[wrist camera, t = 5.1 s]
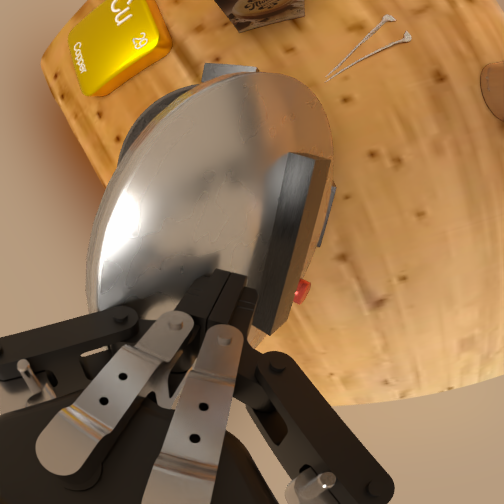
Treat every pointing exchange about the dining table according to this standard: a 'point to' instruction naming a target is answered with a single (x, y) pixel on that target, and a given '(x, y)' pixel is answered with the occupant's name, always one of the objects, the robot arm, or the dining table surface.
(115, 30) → the element tile
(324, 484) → the robot arm
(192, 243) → the cooker lid
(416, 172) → the dining table surface
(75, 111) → the dining table surface
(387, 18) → the tweezers
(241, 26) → the coffee box
